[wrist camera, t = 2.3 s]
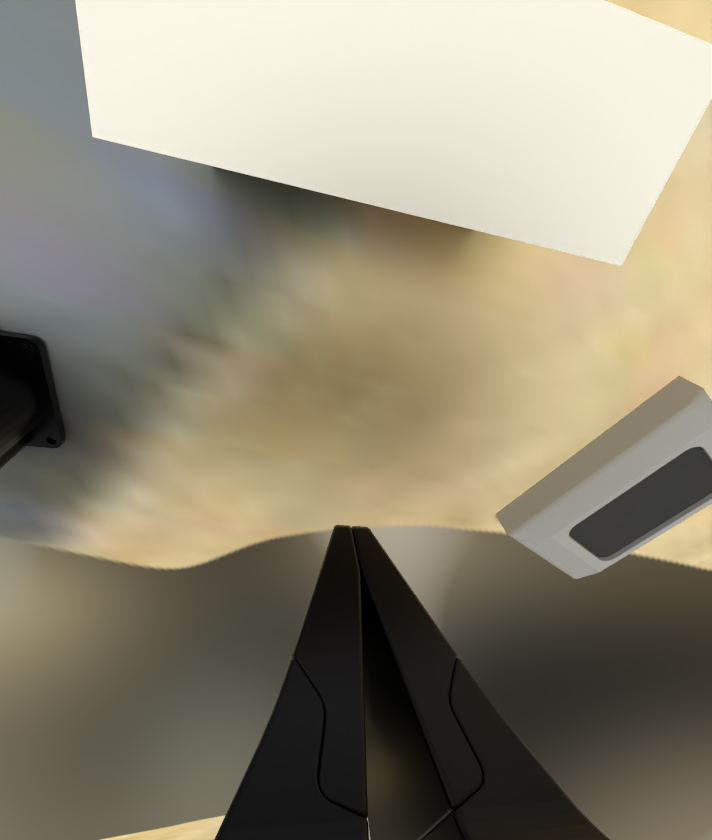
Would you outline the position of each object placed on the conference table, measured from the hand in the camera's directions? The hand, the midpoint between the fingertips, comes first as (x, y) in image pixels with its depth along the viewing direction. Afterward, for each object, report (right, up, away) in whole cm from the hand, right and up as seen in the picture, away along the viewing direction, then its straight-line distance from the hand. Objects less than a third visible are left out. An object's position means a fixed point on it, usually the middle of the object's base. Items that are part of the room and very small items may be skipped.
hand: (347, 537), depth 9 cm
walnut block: (0, +14, +7) cm, 16 cm away
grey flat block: (+20, -2, +20) cm, 28 cm away
